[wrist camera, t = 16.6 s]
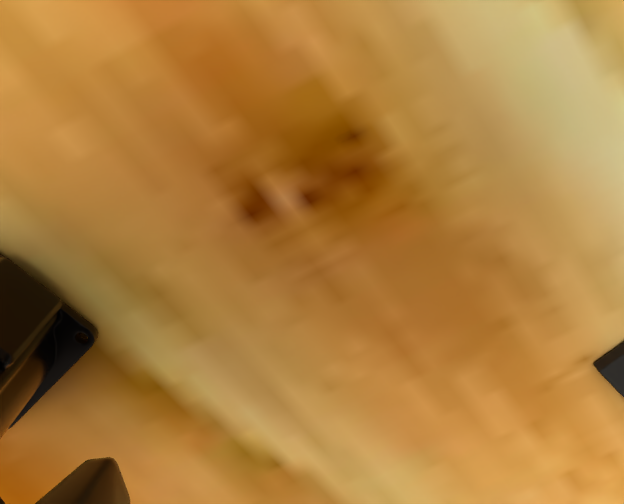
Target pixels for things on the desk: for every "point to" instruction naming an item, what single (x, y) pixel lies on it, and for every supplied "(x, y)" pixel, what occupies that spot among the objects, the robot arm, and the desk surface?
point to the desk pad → (613, 367)
